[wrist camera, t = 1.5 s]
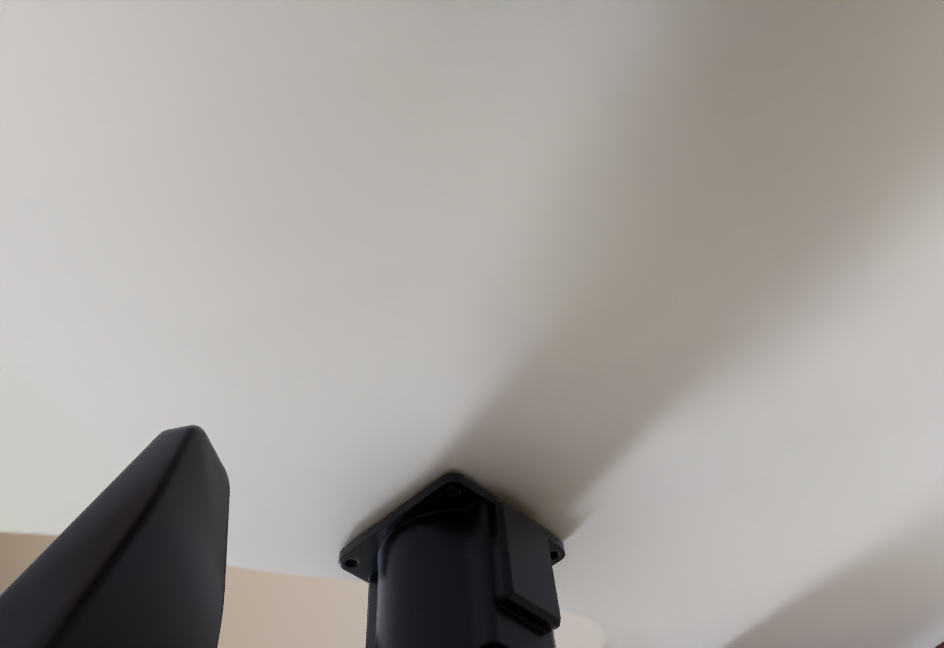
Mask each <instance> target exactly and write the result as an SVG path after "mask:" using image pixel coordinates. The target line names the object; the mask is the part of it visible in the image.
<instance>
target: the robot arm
mask: <svg viewBox="0 0 944 648" xmlns="http://www.w3.org/2000/svg"><path fill="white" fill-rule="evenodd" d="M450 486H455V487H450ZM229 497H230V486H229V480H228V476H227V473H226V470H225V468H224V466H223V465H222V463H221V461H220V459H219V457H218V455H217V453H216V452H215V450H214V448H213V446H212V444H211V442H210V440H209V439H208V437H207V435H206V433H205V432H204V430H203V429H202V428H201V427H199V426H196V425H190V426H184V427H179V428H173V429H168V430H165V431H163V432H162V433H161V434H159V435H158V436H157V437H156V438H155V439H154V440H153V441H152V442H151V443H150V444H149V445H148V446H147V447H146V448H145V449H144V450H143V451H142V452H141V453H140V454H139V455H138V456H137V457H136V458H135V459H134V460H133V462H132V463H131V464H130V465H129V466H128V467H127V468H126V469H125V470H124V471H123V472H122V473H121V474H120V475H119V476H118V477H117V478H116V479H115V480H114V481H113V482H112V483H111V484H110V485H109V486H108V487H107V488H106V489H105V490H104V491H103V492H102V493H101V494H100V495H99V496H98V497H97V498H96V499H95V500H94V501H93V502H92V503H91V504H90V505H89V506H88V507H87V508H86V509H85V510H84V511H83V512H82V513H81V514H80V515H79V516H78V517H77V518H76V519H75V520H74V521H73V522H72V523H71V524H70V525H69V526H68V527H67V528H66V529H65V530H64V531H63V532H62V533H61V534H60V535H59V536H58V538H57V539H56V540H55V541H54V542H53V543H52V544H51V545H50V546H49V547H48V548H47V549H46V550H45V551H44V552H43V553H42V554H41V555H40V556H39V557H38V558H37V559H36V560H35V561H34V562H33V563H32V564H31V565H30V566H29V567H28V568H27V569H26V570H25V571H24V572H23V573H22V574H21V575H20V576H19V577H18V578H17V579H16V580H15V581H14V582H13V583H12V584H11V585H10V586H9V587H8V588H7V589H6V590H5V591H4V592H3V593H2V594H1V595H0V648H217V645H218V640H219V634H220V628H221V620H222V613H223V604H224V592H225V573H226V555H227V536H228V516H229ZM564 556H565V551H564V546H563V543H562V542H561V541H560V540H559V539H557V538H556V537H554V536H553V535H551V534H550V533H548V532H547V531H546V530H545V529H544V528H543V527H541V526H540V525H538V524H537V523H535V522H534V521H532V520H531V519H529V518H528V517H526V516H525V515H523V514H522V513H520V512H519V511H517V510H516V509H514V508H513V507H511V506H510V505H508V504H507V503H505V502H503V501H500V500H499V499H497V498H496V497H494V496H493V495H491V494H490V493H488V492H487V491H485V490H484V489H482V488H481V487H479V486H478V485H476V484H475V483H473V482H472V481H470V480H469V479H467V478H466V477H464V476H463V475H461V474H459V473H448V474H445V475H443V476H442V477H440V478H439V479H438V480H436V481H435V482H434V483H432V484H431V485H429V486H428V487H427V488H425V489H424V490H423V491H421V492H420V493H419V494H417V495H416V496H414V497H413V498H412V499H410V500H409V501H408V502H406V503H405V504H403V505H402V506H401V507H399V508H398V509H397V510H395V511H394V512H393V513H391V514H390V515H388V516H387V517H386V518H384V519H383V520H382V521H380V522H379V523H378V524H376V525H375V526H373V527H372V528H371V529H369V530H368V531H367V532H365V533H364V534H362V535H361V536H360V537H358V538H357V539H356V540H354V541H353V542H352V543H350V544H349V545H347V546H346V547H345V548H343V549H342V550H341V551H340V555H339V566H340V567H341V568H342V569H344V570H346V571H347V572H349V573H351V574H353V575H355V576H357V577H359V578H360V579H362V580H364V581H366V582H368V583H369V592H368V613H367V632H366V633H367V634H366V648H556V645H555V640H554V633H553V630H555V629H557V628H558V627H559V626H560V619H561V617H560V611H559V605H558V599H557V593H556V587H555V581H554V575H553V569H552V566H553V565H554V564H556V563H557V562H559V561H561V560H562V559H563V558H564Z"/></svg>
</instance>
